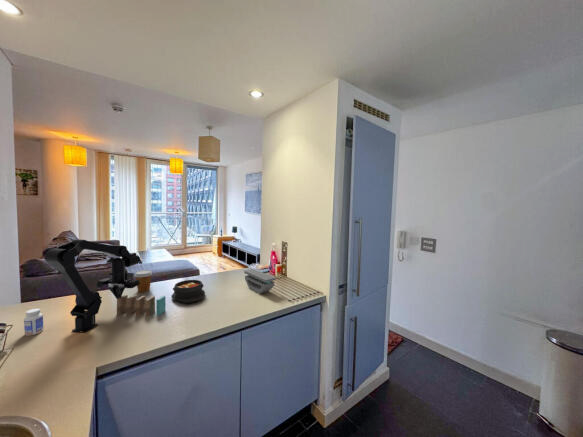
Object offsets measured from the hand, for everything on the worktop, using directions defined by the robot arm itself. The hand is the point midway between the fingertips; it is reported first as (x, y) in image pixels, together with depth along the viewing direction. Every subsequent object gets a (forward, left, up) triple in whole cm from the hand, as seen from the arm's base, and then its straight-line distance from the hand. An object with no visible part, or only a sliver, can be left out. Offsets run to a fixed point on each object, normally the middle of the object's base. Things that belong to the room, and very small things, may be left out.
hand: (118, 299), depth 118 cm
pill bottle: (-21, +20, -7) cm, 30 cm away
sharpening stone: (+38, -66, -7) cm, 76 cm away
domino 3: (0, -12, -7) cm, 13 cm away
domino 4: (0, -17, -7) cm, 18 cm away
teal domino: (+1, -22, -7) cm, 23 cm away
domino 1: (0, -2, -6) cm, 7 cm away
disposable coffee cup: (+29, +7, -7) cm, 31 cm away
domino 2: (0, -7, -7) cm, 9 cm away
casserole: (+22, -26, -7) cm, 34 cm away
